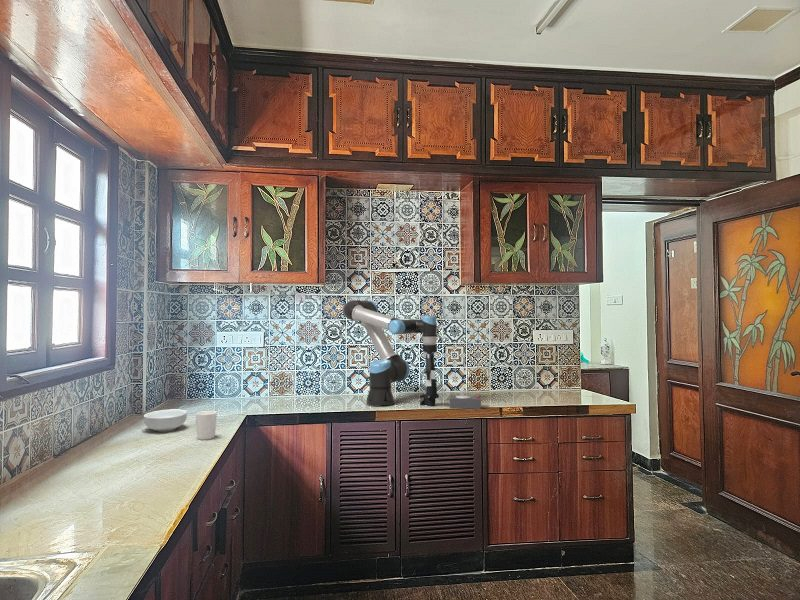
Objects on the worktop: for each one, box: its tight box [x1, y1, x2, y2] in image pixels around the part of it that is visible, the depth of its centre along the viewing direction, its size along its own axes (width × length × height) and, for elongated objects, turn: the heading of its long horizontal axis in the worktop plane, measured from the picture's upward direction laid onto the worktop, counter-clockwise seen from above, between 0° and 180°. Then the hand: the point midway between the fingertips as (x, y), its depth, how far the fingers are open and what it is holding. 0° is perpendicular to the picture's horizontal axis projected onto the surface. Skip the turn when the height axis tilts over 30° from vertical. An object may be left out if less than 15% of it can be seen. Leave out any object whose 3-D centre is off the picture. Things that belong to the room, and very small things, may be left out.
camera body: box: [449, 394, 482, 410], centre depth 260 cm, size 16×8×6 cm, turn 79°
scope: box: [418, 378, 439, 407], centre depth 264 cm, size 8×14×10 cm
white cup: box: [195, 410, 218, 441], centre depth 199 cm, size 8×8×10 cm
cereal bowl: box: [143, 408, 188, 433], centre depth 212 cm, size 17×17×7 cm
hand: (430, 384), depth 264 cm, fingers open, 13 cm apart
